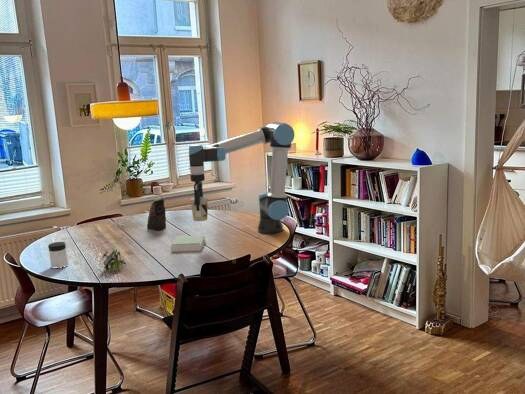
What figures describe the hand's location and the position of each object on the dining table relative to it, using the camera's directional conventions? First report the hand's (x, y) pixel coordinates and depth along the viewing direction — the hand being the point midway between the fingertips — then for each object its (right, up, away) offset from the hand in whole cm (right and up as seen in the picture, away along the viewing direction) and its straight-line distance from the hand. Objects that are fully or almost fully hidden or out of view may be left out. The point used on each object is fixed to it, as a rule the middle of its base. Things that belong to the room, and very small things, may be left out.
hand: (200, 214), depth 276 cm
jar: (-70, -26, -17) cm, 76 cm away
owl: (-33, -11, +48) cm, 59 cm away
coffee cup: (0, -3, +1) cm, 3 cm away
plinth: (-7, -18, +4) cm, 20 cm away
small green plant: (-39, -26, -26) cm, 54 cm away
